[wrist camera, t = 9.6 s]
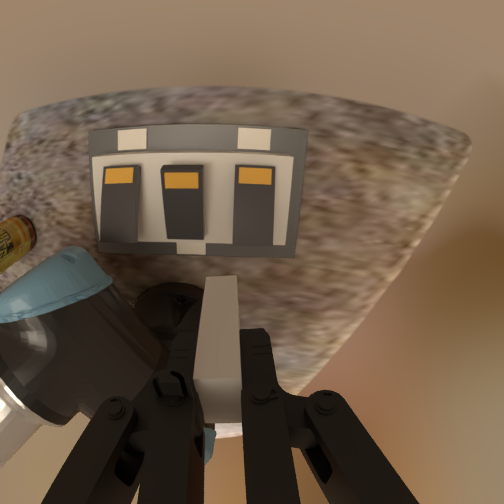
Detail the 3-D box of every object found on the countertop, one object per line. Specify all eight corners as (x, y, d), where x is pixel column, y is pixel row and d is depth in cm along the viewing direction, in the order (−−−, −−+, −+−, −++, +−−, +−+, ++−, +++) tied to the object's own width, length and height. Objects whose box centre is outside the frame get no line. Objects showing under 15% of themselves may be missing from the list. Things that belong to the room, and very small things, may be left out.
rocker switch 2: (169, 232, 31) (166, 239, 30) (163, 164, 26) (159, 170, 25) (204, 233, 32) (203, 240, 31) (203, 164, 27) (202, 170, 26)
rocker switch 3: (232, 244, 30) (232, 245, 29) (235, 166, 29) (235, 164, 28) (271, 245, 30) (273, 246, 29) (273, 168, 29) (275, 166, 28)
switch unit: (102, 248, 37) (86, 265, 32) (93, 130, 30) (73, 133, 25) (292, 253, 39) (300, 272, 34) (304, 130, 32) (316, 131, 27)
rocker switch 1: (104, 241, 29) (99, 242, 27) (107, 168, 28) (102, 166, 27) (137, 242, 29) (133, 243, 28) (141, 166, 28) (137, 164, 27)
